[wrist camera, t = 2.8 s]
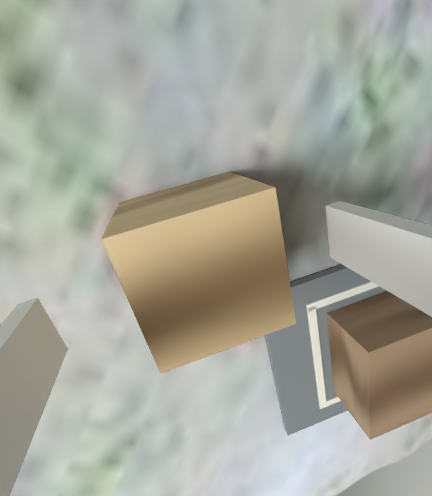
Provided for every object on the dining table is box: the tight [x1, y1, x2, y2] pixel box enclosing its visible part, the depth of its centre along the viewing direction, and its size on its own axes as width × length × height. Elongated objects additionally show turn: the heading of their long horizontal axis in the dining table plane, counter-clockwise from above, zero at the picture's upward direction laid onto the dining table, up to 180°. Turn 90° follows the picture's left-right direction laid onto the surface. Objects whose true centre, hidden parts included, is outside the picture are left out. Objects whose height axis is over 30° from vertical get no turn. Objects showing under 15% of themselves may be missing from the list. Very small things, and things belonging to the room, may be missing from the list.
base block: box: [327, 291, 432, 440], centre depth 19 cm, size 8×5×4 cm, turn 14°
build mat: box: [265, 264, 387, 435], centre depth 21 cm, size 14×14×1 cm
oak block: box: [101, 172, 296, 373], centre depth 13 cm, size 6×6×6 cm
